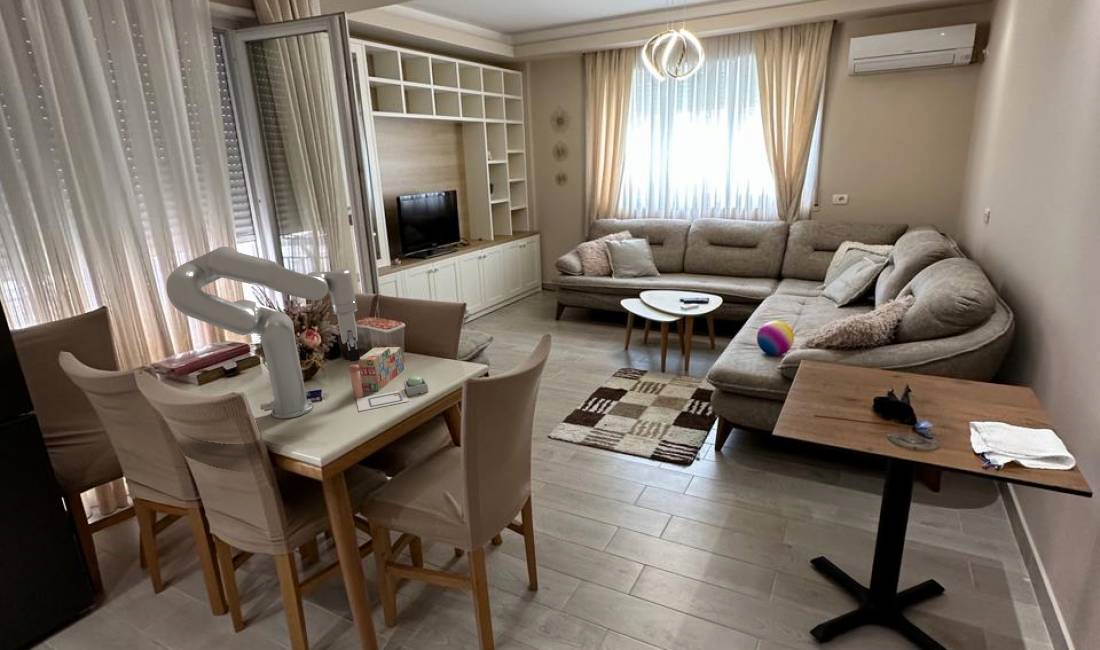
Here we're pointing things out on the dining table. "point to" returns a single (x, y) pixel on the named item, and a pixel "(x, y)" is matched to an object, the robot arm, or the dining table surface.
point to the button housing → (416, 388)
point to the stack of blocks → (380, 367)
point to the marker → (356, 381)
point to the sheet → (381, 400)
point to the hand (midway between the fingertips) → (353, 356)
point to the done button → (415, 381)
